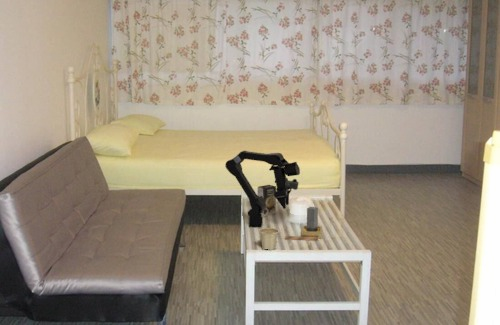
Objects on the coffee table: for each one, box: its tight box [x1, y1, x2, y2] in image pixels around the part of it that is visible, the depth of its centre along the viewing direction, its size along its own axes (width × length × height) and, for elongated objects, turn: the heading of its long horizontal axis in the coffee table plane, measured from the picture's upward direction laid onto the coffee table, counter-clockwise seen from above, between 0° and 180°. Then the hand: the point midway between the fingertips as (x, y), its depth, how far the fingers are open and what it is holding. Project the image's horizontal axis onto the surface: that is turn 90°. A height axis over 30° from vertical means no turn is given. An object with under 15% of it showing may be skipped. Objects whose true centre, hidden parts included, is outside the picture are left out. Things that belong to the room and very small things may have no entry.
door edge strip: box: [284, 235, 319, 242], centre depth 295 cm, size 16×2×1 cm, turn 84°
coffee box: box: [257, 184, 277, 217], centre depth 340 cm, size 9×6×16 cm
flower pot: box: [258, 227, 280, 251], centre depth 282 cm, size 9×9×9 cm
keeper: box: [301, 225, 323, 240], centre depth 301 cm, size 10×10×4 cm
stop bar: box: [306, 206, 319, 231], centre depth 300 cm, size 4×4×14 cm
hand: (286, 206), depth 310 cm, fingers open, 9 cm apart
